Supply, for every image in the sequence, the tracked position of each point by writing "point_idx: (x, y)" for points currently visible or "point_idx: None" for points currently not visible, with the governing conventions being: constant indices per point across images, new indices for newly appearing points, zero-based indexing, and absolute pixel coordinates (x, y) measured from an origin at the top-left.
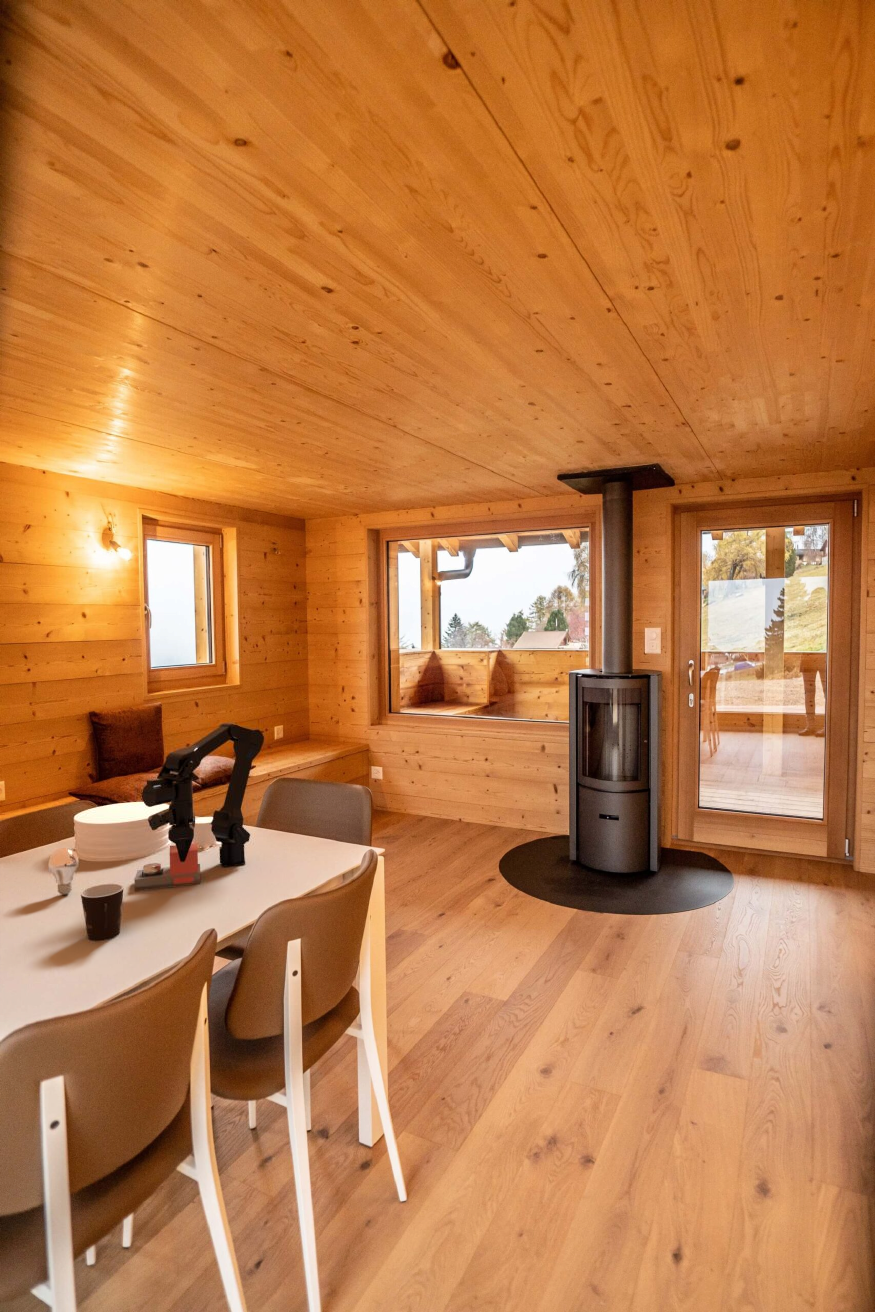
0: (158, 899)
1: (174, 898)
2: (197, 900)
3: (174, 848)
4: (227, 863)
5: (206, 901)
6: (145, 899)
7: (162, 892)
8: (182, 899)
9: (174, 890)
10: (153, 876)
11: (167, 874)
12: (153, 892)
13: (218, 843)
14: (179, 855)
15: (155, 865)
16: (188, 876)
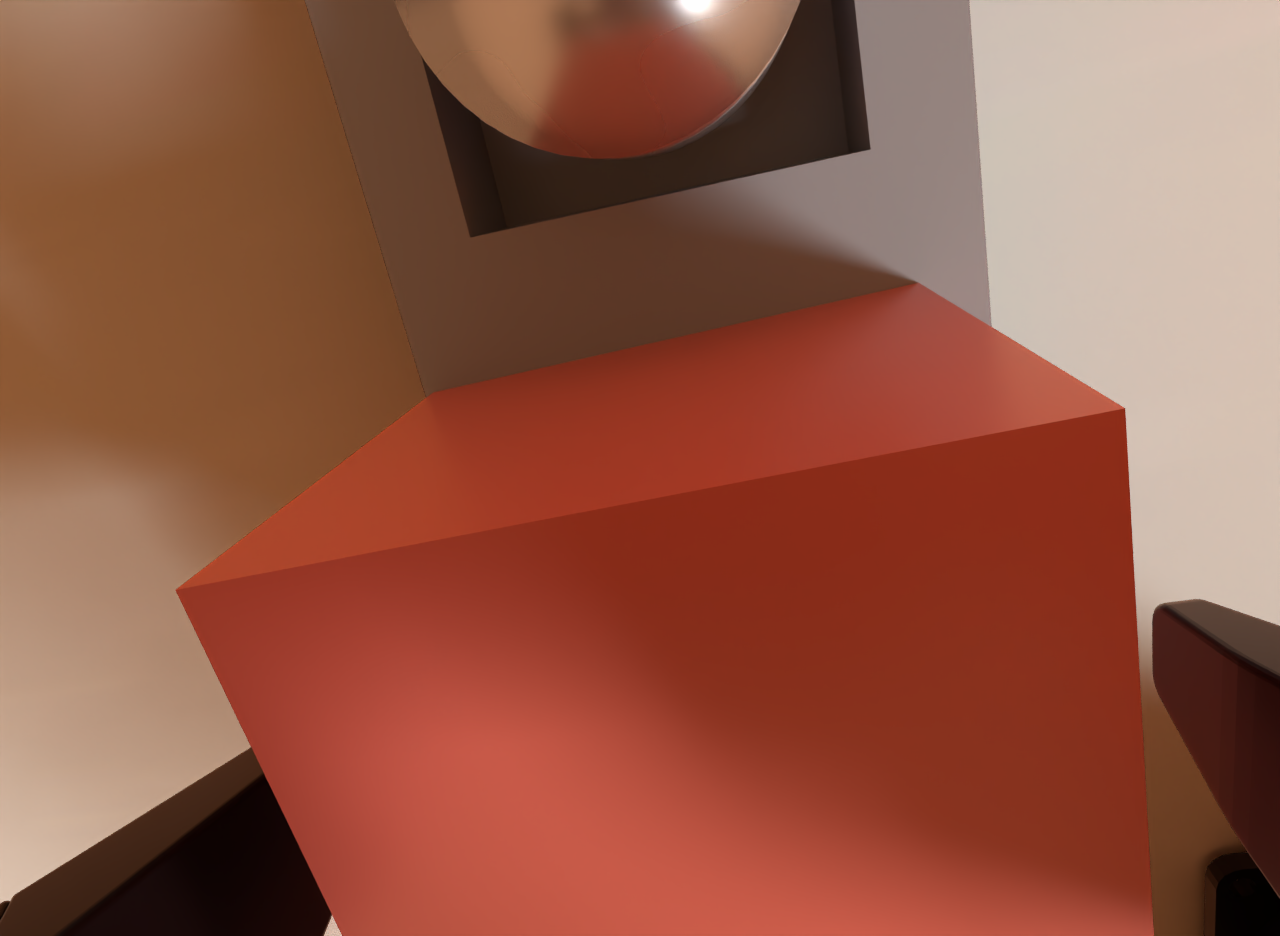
0: (34, 308)
1: (88, 496)
2: (58, 734)
3: (699, 641)
4: (1269, 932)
5: (43, 812)
6: (11, 119)
7: (285, 288)
8: (68, 589)
9: (359, 432)
10: (405, 71)
11: (504, 325)
12: (284, 150)
13: None
14: (173, 814)
15: (604, 18)
16: None
